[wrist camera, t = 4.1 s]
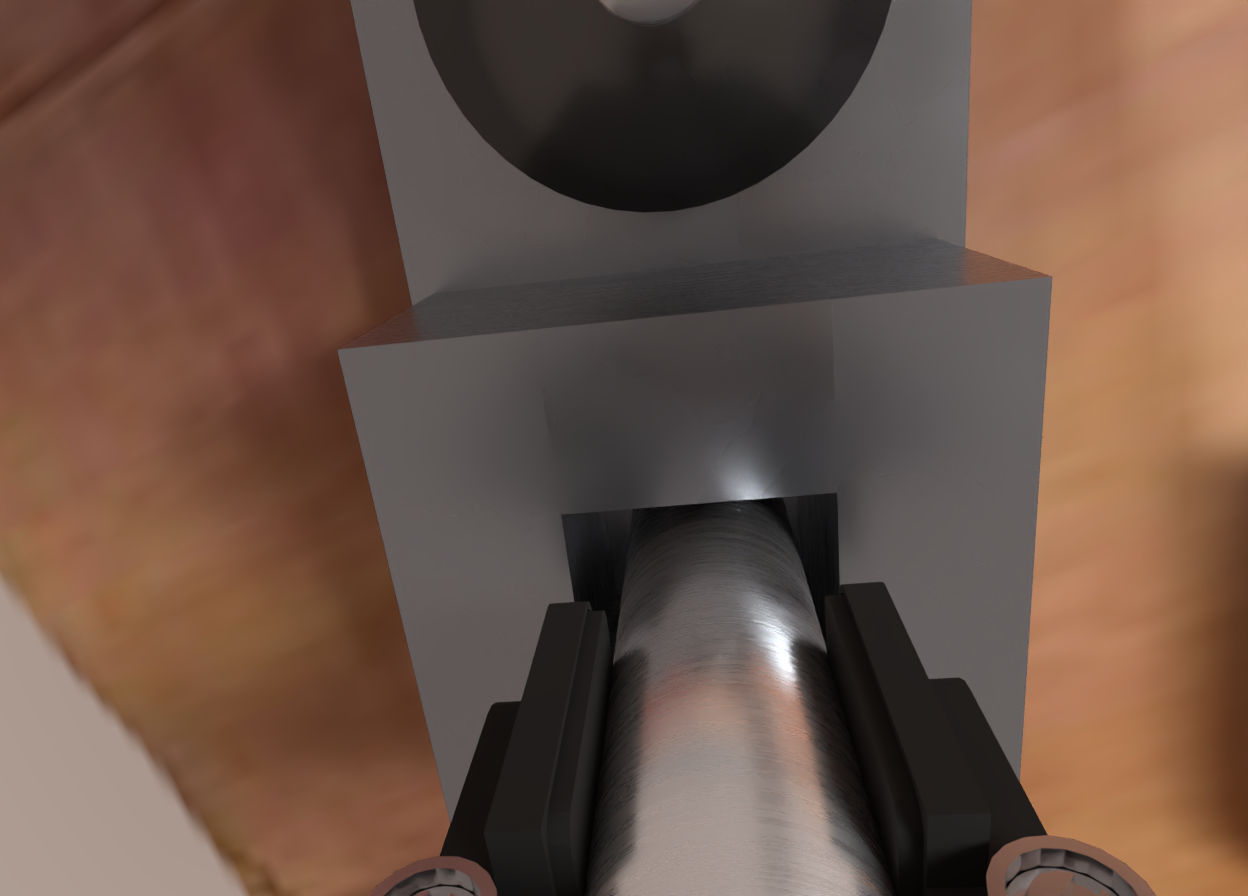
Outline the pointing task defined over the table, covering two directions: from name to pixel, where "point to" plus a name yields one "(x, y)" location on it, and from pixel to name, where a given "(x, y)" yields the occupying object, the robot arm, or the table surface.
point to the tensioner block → (690, 324)
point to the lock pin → (726, 722)
